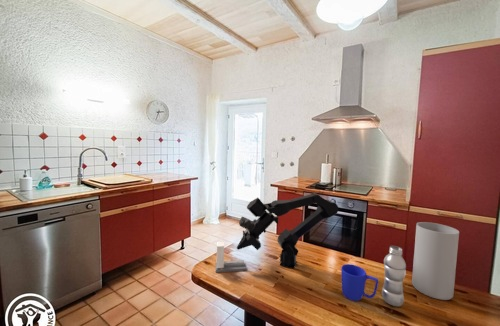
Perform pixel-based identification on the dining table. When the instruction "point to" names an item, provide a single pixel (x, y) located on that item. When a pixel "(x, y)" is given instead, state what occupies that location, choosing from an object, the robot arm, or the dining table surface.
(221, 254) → the white cardboard box
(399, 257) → the plastic bottle
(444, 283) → the cylinder vase
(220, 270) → the board
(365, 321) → the dining table surface
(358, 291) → the mug
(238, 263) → the light grey bar
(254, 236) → the robot arm
